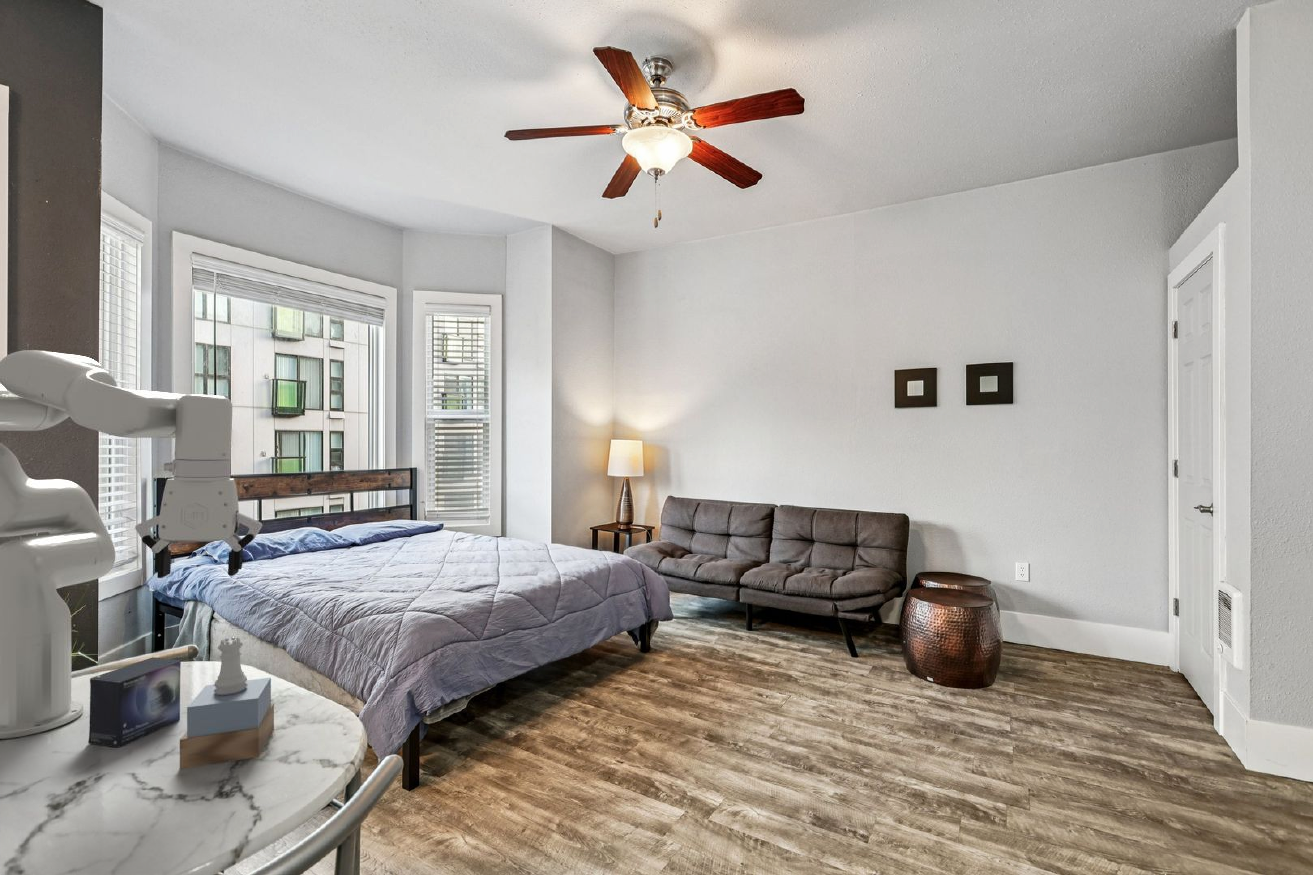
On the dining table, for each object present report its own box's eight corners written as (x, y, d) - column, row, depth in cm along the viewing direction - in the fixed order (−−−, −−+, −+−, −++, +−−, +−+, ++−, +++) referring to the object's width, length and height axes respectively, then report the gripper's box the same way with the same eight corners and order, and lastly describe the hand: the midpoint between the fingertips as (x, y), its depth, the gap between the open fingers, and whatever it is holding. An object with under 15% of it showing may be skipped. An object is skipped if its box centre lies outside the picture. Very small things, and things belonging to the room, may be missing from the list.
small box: (119, 748, 99) (119, 681, 99) (86, 745, 100) (86, 678, 100) (183, 719, 109) (182, 658, 109) (151, 716, 111) (151, 656, 111)
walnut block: (179, 770, 93) (179, 739, 93) (202, 740, 102) (202, 712, 102) (258, 758, 96) (258, 728, 96) (273, 730, 106) (273, 703, 106)
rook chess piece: (242, 682, 103) (242, 633, 103) (251, 690, 100) (251, 638, 100) (209, 691, 99) (209, 640, 99) (218, 698, 96) (217, 646, 96)
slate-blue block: (187, 737, 93) (187, 707, 93) (206, 713, 102) (206, 685, 102) (258, 727, 96) (257, 698, 97) (270, 704, 105) (270, 677, 105)
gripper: (127, 471, 98) (124, 582, 98) (257, 472, 103) (253, 578, 103) (149, 468, 105) (145, 572, 105) (269, 470, 110) (265, 568, 110)
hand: (199, 575), depth 104 cm, fingers open, 9 cm apart
